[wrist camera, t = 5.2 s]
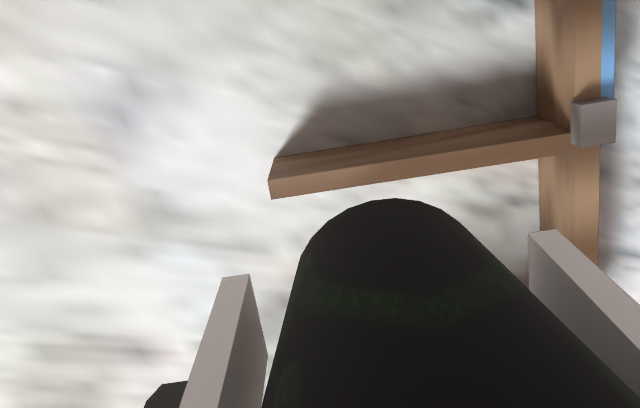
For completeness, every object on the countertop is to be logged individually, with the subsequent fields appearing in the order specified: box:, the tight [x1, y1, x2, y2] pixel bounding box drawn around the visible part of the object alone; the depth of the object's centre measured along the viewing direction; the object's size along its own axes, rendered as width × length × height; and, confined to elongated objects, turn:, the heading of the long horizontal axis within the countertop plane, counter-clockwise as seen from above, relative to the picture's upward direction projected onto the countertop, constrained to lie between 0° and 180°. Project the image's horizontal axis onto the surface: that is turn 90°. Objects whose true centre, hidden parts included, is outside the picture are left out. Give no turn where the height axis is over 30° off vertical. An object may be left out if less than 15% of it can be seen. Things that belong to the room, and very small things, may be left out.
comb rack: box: [268, 0, 617, 267], centre depth 27 cm, size 25×17×6 cm
